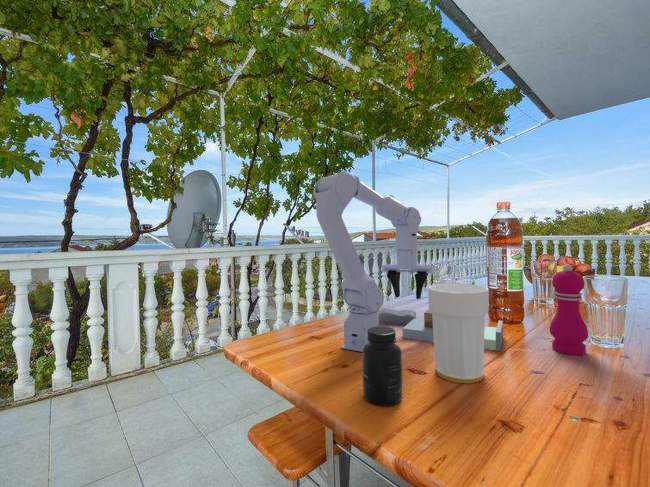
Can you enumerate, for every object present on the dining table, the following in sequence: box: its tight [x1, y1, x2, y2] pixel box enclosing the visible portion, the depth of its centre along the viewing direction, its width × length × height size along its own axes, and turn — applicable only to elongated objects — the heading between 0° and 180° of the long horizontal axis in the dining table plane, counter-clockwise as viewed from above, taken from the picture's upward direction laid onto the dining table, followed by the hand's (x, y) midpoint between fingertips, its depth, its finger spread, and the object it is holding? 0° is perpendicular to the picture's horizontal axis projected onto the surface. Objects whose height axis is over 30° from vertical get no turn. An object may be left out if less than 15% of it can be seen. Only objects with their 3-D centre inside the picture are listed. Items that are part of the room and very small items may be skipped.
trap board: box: [401, 318, 504, 352], centre depth 87 cm, size 24×11×4 cm, turn 59°
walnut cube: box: [423, 309, 433, 328], centre depth 90 cm, size 4×4×4 cm
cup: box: [427, 282, 490, 384], centre depth 65 cm, size 11×11×17 cm
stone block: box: [378, 307, 417, 326], centre depth 106 cm, size 12×5×10 cm
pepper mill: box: [549, 264, 589, 356], centre depth 76 cm, size 7×7×20 cm
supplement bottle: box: [361, 325, 403, 407], centre depth 57 cm, size 7×7×12 cm
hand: (407, 297), depth 93 cm, fingers open, 5 cm apart
